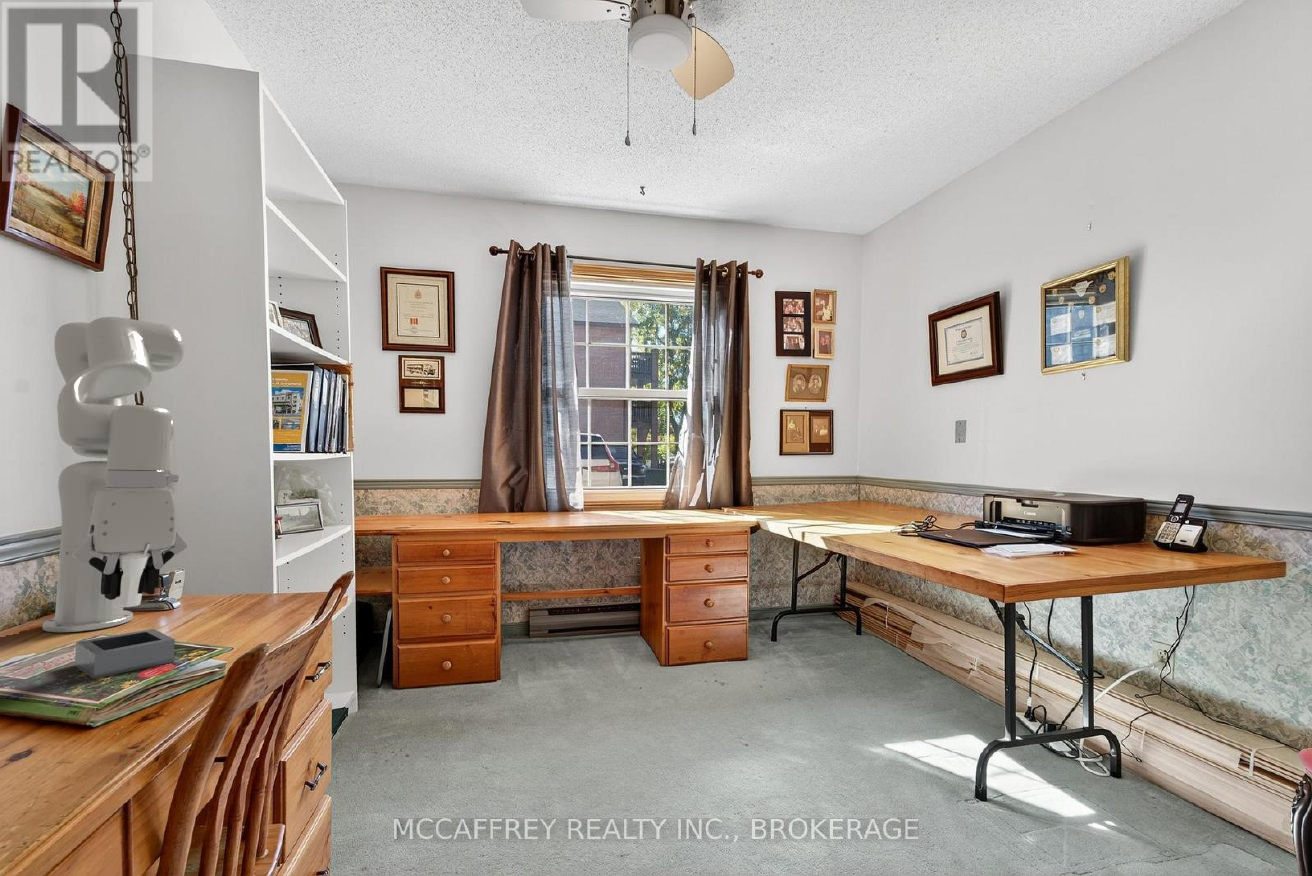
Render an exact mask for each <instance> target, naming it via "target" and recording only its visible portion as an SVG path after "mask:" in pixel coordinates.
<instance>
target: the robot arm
mask: <svg viewBox="0 0 1312 876" xmlns="http://www.w3.org/2000/svg"><path fill="white" fill-rule="evenodd" d="M54 355H55V356H54V357H55V360H56V364H57V366H58V369H59V372H60V373H61V376H62V378H63V379H64V382H65V384H64V386H63V387H62V389H61V391H60V393H59V395H58V399H57V406H56V408H57V423H58V424H57V425H58V432H59V436H60V438H61V440H62V442H64V444H65V445H67V446H68V447H71V449H72V451H73V452H74V453H75V454H77V455H79V456H82V457H87V458H97V459H107V460H90V461H89V460H88V461H80V462H76V463H75V462H74V463H73V464H71V465H68V466H67V467H64V469H63V470H61V472H60V474H59V477H58V487H57V488H58V494H59V502H60V511H61V512H60V513H61V530H60V531H61V533H60V547H59V560H58V562H59V563H58V571H57V572H58V573H57V586H56V587H57V588H56V598H55V600H56V601H55V611H54V612H55V613H54V617H53V618H50V619H47V620H45V621H44V622H43V623H42V630H43V631H44V632H49V633H79V632H86V631H94V630H101V629H106V628H111V627H115V626H119V625H123V624H125V623H128V622H131V621H132V620H133V618H134V617H133V616H134V612H132V611H130V610H125V609H124V608H117V607H114V599H115V598H117V586H118V574H116V573H115V566H116V563H117V560H118V557H119V554H122V553H134V552H144V551H145V549H146V547H147V545H148V544H150V547H149V549H148V551H149V552H150V554H151V557H150V561H149V565H148V570H147V573H146V577H145V582H144V588H143V593H144V594H147V595H154V594H155V592H156V589H157V588H159V583H160V570H161V569H162V568H163V567H164V565H165V564H167V563H168V562H169V561H170V560H171V559H172V558H174V557H175V556H176V555H179V554H180V553H181V552H183V551H184V550H186V549H187V548H188V546H187V544H186V542H185V541H184V540H183V539H182V538H181V536H180V535H179V534H178V533H177V521H176V508H175V507H176V505H175V498H176V496H177V492H178V481H179V475H178V472H177V471H178V469H177V449H176V437H175V428H174V421H173V419H172V413H171V412H170V410H168V409H167V408H164V407H160V406H155V405H154V406H152V405H145V404H144V405H143V404H142V405H141V404H139V405H138V404H128V396H131V395H135V394H137V393H140V392H141V391H142V392H143V391H144V390H146V389H147V387H148V386H149V385H150V384H151V382H152V380H153V372H155V373H157V372H159V373H161V372H164V371H169V370H171V369H174V368H176V367H177V366H178V365H180V363H181V362H182V361H183V357H184V355H185V343H184V339H183V337H182V334H181V333H180V332H179V331H178V329H176V328H175V327H173V326H171V325H168V324H162V323H158V322H151V321H145V320H138V319H132V318H127V317H118V316H102V317H98V318H96V319H93V320H92V321H91V322H83V321H82V322H79V321H78V322H77V321H76V322H68V323H64V324H63V325H61V326H59V328H58V329H57V331H56V332H55V336H54Z"/></svg>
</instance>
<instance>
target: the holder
mask: <svg viewBox="0 0 1312 876" xmlns="http://www.w3.org/2000/svg"><path fill="white" fill-rule="evenodd" d="M175 640H176V639H175V638H173V637H171V636H169V635H166V634H164V633H162V632H161V631H159V630H157V629H155V628H151V629H149V628H148V629H143V630H139V631H133V632H127V633H126V632H125V633H121V634H115V635H110V636H103V637H98V638H90V639H86V640H80V641H76V642H75V654H74V655H75V656H74V666H75V667H77V668H78V669H79V670H80V671H82V672H83V673H85V674H86V675H87V676H89V677H90V678H91V679H93V680H95V679H99V678H100V679H101V678H104V677H109V676H114V675H119V674H122V673H128V672H133V671H137V670H142V669H146V668H150V667H155V666H160V665H166V664H170V663H173V662H174V660H175V658H174V656H175V646H176V645H175V642H176V641H175Z"/></svg>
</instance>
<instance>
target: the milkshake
mask: <svg viewBox="0 0 1312 876" xmlns="http://www.w3.org/2000/svg"><path fill="white" fill-rule="evenodd" d="M149 547H150V544H148V545H147V547H146V549H145V551H144V552H134V553H122V554H119V557H118V560H117V563H116V566H115V573H116V574H118V586H117V598H115V599H114V607H117V608H123V609H124V608H133V607H134V608H135V607H138V606H140V605H141V604H142V603H141V602H142V596H143V593H144V592H143V588H144V582H145V577H146V573H147V570H148V565H149V561H150V557H151V554H150V552H149V551H148V549H149Z"/></svg>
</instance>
